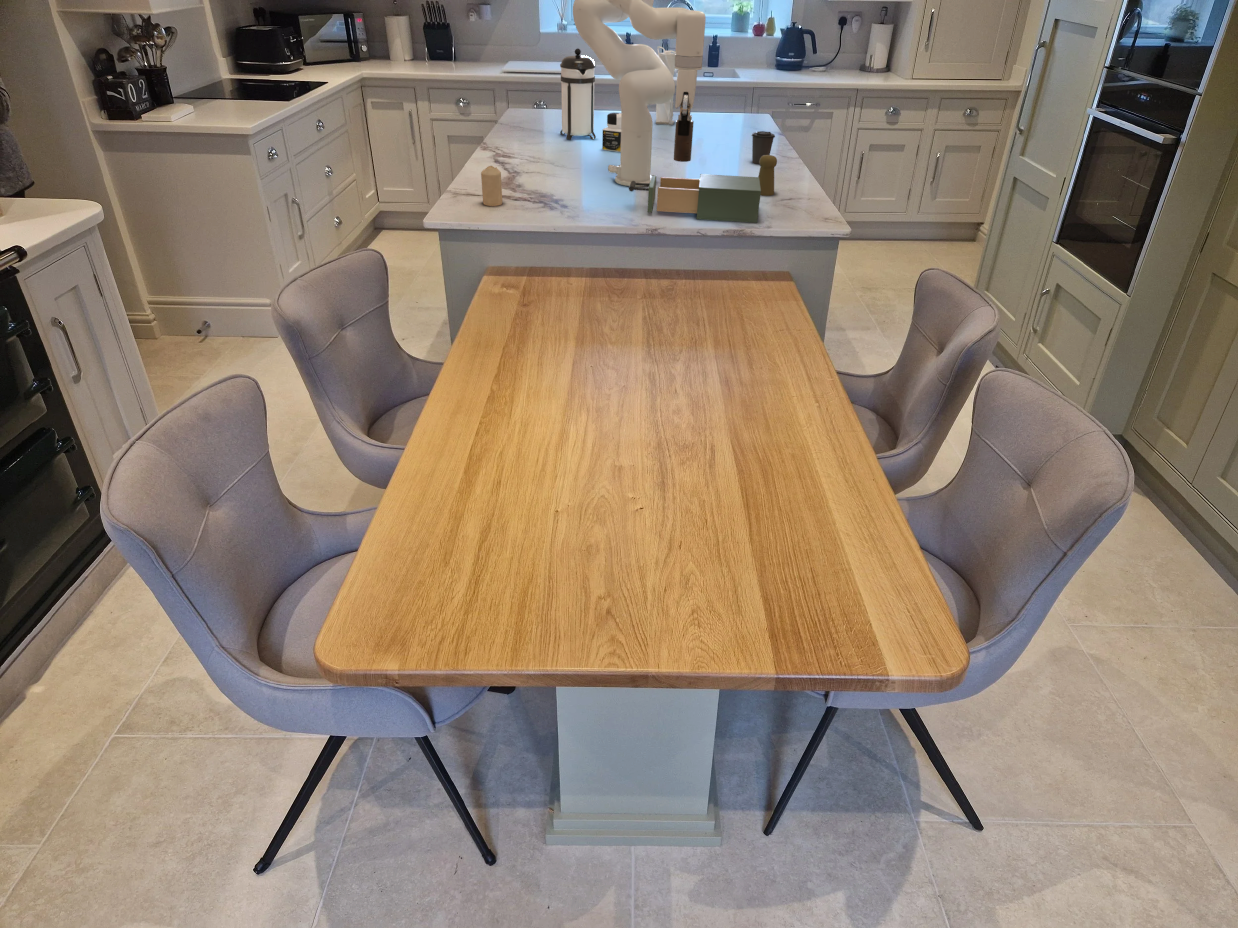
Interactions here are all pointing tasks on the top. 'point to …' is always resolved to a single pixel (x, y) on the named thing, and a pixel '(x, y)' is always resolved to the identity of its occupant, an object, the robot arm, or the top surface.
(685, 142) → the pepper mill
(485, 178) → the candle
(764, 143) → the coffee cup
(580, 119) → the coffee press
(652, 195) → the drawer
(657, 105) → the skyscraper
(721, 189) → the cabinet
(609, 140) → the medicine bottle
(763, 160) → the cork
